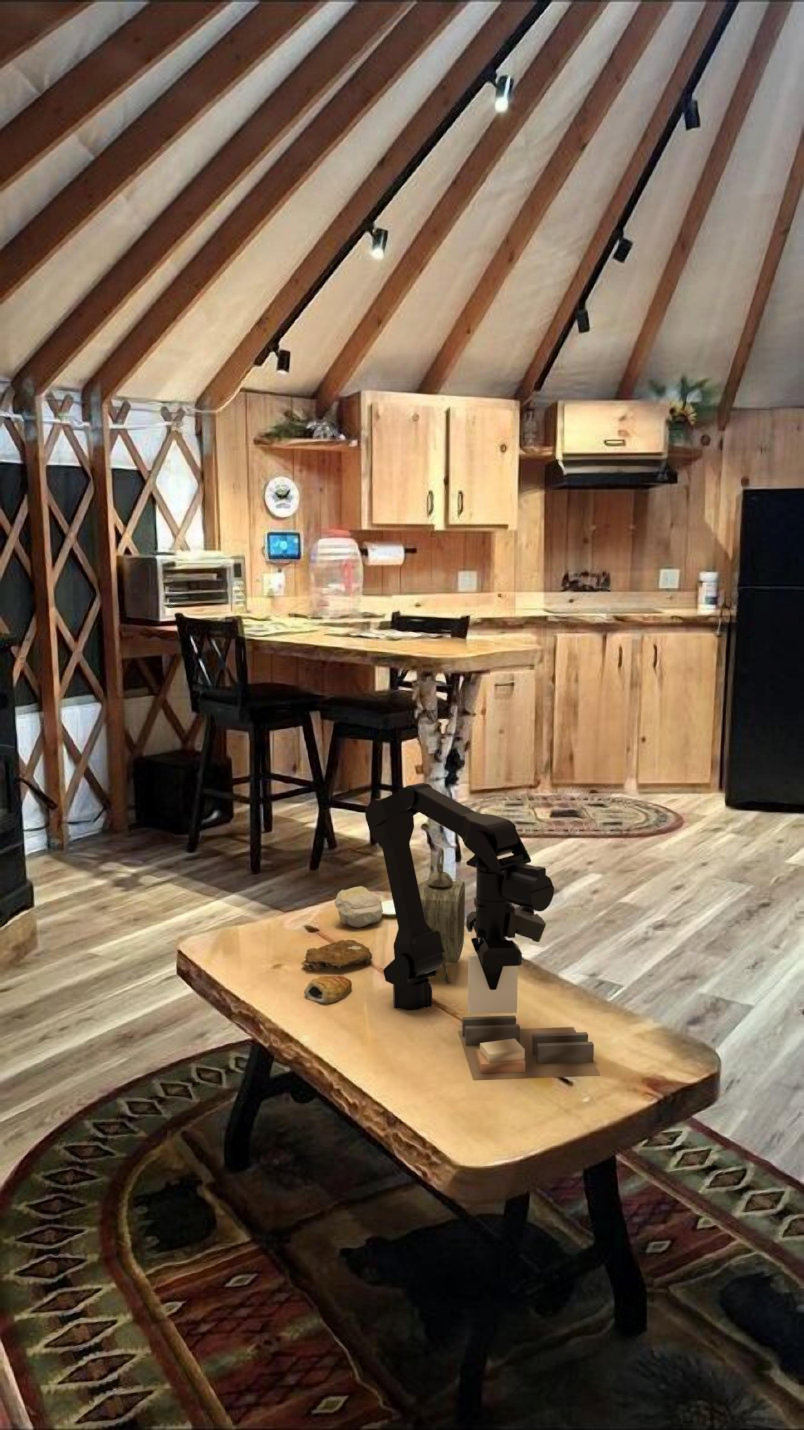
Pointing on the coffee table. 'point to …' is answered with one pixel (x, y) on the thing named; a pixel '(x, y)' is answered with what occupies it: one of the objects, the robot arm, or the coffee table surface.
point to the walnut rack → (530, 1048)
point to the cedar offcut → (499, 1065)
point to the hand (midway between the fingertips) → (491, 987)
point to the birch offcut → (502, 1051)
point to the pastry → (328, 988)
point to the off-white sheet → (491, 1000)
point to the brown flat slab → (337, 955)
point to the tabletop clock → (445, 911)
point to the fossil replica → (358, 907)
